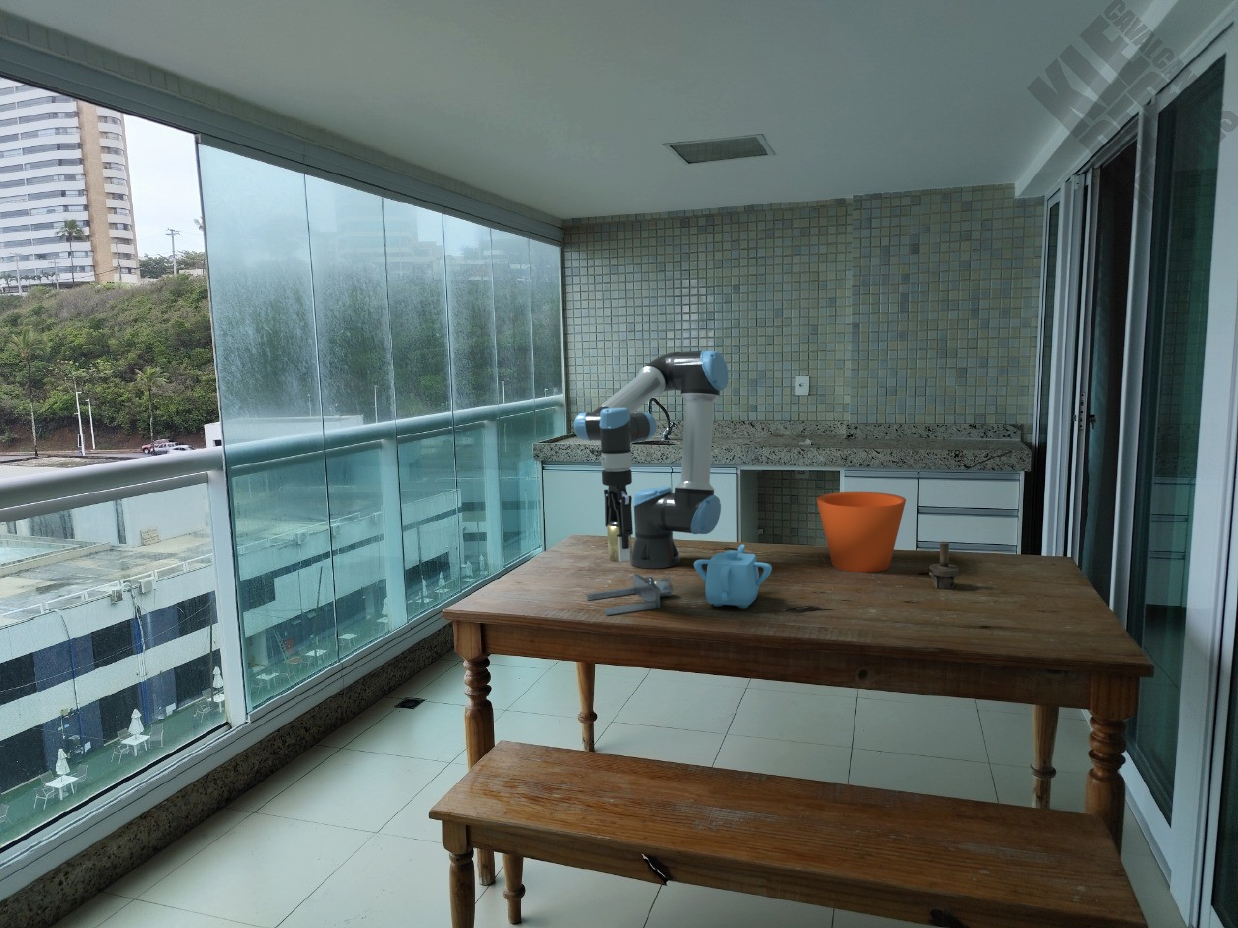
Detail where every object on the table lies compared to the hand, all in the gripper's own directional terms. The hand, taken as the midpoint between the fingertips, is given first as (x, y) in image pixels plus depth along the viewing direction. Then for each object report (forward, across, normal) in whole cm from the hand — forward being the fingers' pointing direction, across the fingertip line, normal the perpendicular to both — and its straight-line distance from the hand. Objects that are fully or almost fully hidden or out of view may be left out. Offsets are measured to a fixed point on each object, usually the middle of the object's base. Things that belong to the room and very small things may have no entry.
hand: (619, 557), depth 212 cm
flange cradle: (+12, 0, +3) cm, 13 cm away
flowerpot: (+12, -2, +76) cm, 77 cm away
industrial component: (+12, +26, +81) cm, 86 cm away
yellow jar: (0, 0, 0) cm, 0 cm away
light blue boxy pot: (+12, +11, +27) cm, 32 cm away
